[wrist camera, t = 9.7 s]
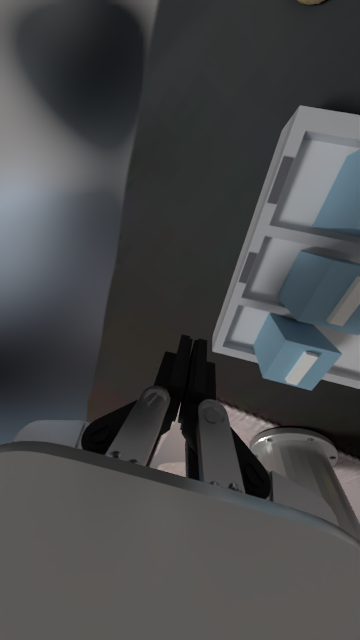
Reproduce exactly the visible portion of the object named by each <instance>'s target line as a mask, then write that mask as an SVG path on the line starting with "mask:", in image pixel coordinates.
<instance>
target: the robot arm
mask: <svg viewBox="0 0 360 640" xmlns="http://www.w3.org/2000/svg"><path fill="white" fill-rule="evenodd" d="M189 338H190V336H186V335H182V336H181V340H180V344H179V348H178V351H177V354H175V353H171V352H167V351H166V352H165V354H164V357H163V360H162V363H161V366H160V369H159V372H158V375H157V377H156V380H155V383H154V386H150V387H148V388H146V389H145V390H144V391H143V392H142V394H141V395H140V397H139V399H138V400H136V401H134V402H132V403H130V404H128V405H126V406H124V407H122V408H119V409H117V410H115V411H113V412H111V413H109V414H107V415H105V416H103V417H101V418H99V419H97V420H95V421H93V422H85V421H82V420H40V421H35V422H32V423H31V424H28V425H27V426H25V427H24V428H23V429H22V430H21V431H20V432H19V433H18V434H17V436H16V437H15V438H14V440H13V442H10V443H5V444H0V640H360V523H359V521H358V519H357V517H356V515H355V513H354V511H353V509H352V507H351V505H350V503H349V501H348V499H347V497H346V495H345V492H344V490H343V489H342V486H341V484H340V482H339V480H338V478H337V476H336V474H335V472H334V470H333V468H332V467H333V466H335V464H336V463H337V461H338V457H339V456H338V452H337V450H336V448H335V446H334V444H333V443H332V442H331V441H330V440H329V439H328V438H326V437H325V436H323V435H321V434H319V433H317V432H314V431H311V430H307V429H302V428H291V427H289V428H276V429H271V430H267V431H265V432H262V433H260V434H259V435H257V436H256V437H255V438H254V439H253V440H252V441H251V443H250V449H249V448H248V447H247V446H246V444H245V443H244V442H243V441H242V440H241V439H240V437H239V436H238V435H237V434H236V433H235V431H234V430H233V429H232V428H231V427H230V423H229V419H228V414H227V412H226V410H225V408H224V407H223V405H221V404H220V403H219V402H217V401H216V380H215V363H212V362H208V361H206V357H207V340H203V339H198V340H195V342H194V345H193V349H192V352H191V346H192V340H193V339H189ZM190 353H191V356H190ZM180 403H181V406H180ZM179 406H180V412H179V418H178V423H181V428H180V429H181V430H182V434H183V436H184V438H185V439H186V442H185V452H186V453H185V454H186V477H183V476H179V475H175V474H172V473H168V472H164V471H161V470H157V469H153V468H150V465H151V463H152V460H153V458H154V455H155V452H156V450H157V447H158V444H159V442H160V439H161V436H162V435H163V434H164V433H166V432H167V431H169V430H170V427H171V424H172V421H174V422H175V420H176V417H177V413H178V410H179Z"/></svg>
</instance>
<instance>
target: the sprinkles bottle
mask: <svg viewBox="0 0 360 640" xmlns="http://www.w3.org/2000/svg"><path fill="white" fill-rule="evenodd" d="M298 1H299V2H300V3H303V4H307V5H312V4H319V3H321V2H323V1H325V0H298Z"/></svg>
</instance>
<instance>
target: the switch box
mask: <svg viewBox="0 0 360 640" xmlns="http://www.w3.org/2000/svg"><path fill="white" fill-rule="evenodd" d="M358 150H360V115H356V114H350V113H344V112H337V111H331V110H325V109H319V108H313V107H306V106H299V107H298V109H297V110H296V112H295V113H294V114H293V116H292V117H291V119H290V120H289V121H288V123H287V124H286V126H285V127H284V128H283V130H282V132H281V135H280V138H279V141H278V144H277V147H276V150H275V153H274V156H273V158H272V161H271V164H270V167H269V170H268V173H267V176H266V179H265V182H264V185H263V188H262V191H261V194H260V197H259V200H258V203H257V206H256V209H255V212H254V215H253V218H252V221H251V224H250V227H249V230H248V233H247V236H246V238H245V241H244V244H243V247H242V250H241V253H240V256H239V259H238V262H237V265H236V268H235V271H234V274H233V277H232V280H231V283H230V286H229V289H228V292H227V295H226V298H225V301H224V304H223V307H222V310H221V313H220V316H219V319H218V321H217V324H216V327H215V330H214V333H213V345H212V351H213V352H217V353H221V354H225V355H229V356H233V357H237V358H241V359H245V360H249V361H252V362H256V363H258V361H257V357H256V354H255V351H254V348H253V344H254V342H255V340H256V338H257V336H258V334H259V332H260V330H261V328H262V326H263V324H264V322H265V320H266V318H267V316H268V314H269V313H271V314H275V315H280V316H284V317H288V318H292V319H295V317H294V316H293V315H292V314H291V313H290V312H289V310H288V309H287V308H286V307H285V306H284V305H283V303H282V302H281V301H280V300H279V299H278V298H277V296H278V294H279V292H280V290H281V288H282V286H283V284H284V282H285V280H286V278H287V276H288V274H289V272H290V270H291V268H292V266H293V264H294V262H295V260H296V258H297V256H298V254H299V252H300V251H304V252H309V253H314V254H318V255H323V256H328V257H333V258H337V259H342V260H347V261H351V262H355V263H359V264H360V237H357V236H352V235H347V234H342V233H338V232H333V231H328V230H323V229H318V228H313V227H312V226H313V224H314V222H315V220H316V218H317V216H318V214H319V212H320V210H321V208H322V206H323V204H324V202H325V200H326V198H327V196H328V194H329V192H330V190H331V188H332V186H333V184H334V182H335V180H336V178H337V176H338V174H339V172H340V170H341V168H342V166H343V163H344V161H345V159H346V157H347V156H348V155H350V154H352V153H354V152H356V151H358ZM314 326H315V327H316V328H317V329H318V330H319V331H320V332H321V333H322V334H323V335H324V336H325V337H326V338H327V339H328V340H329V341H330V342H331V343H332V344H333V345H334V346H335V347H336V348H337V349H338V350H339V351H340V352H341V353H342V355H341V356H340V358H339V359H338V360H337V361H336V362H335V363H334V365H333V366H332V367H331V368H330V369H329V370H328V372H327V373H326V374H325V375H324V376H323V377H322V379H323V380H327V381H331V382H335V383H339V384H343V385H346V386H350V387H354V388H358V389H360V334H359V335H355V334H350V333H346V332H342V331H338V330H333V329H329V328H325V327H321V326H317V325H314Z"/></svg>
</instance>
